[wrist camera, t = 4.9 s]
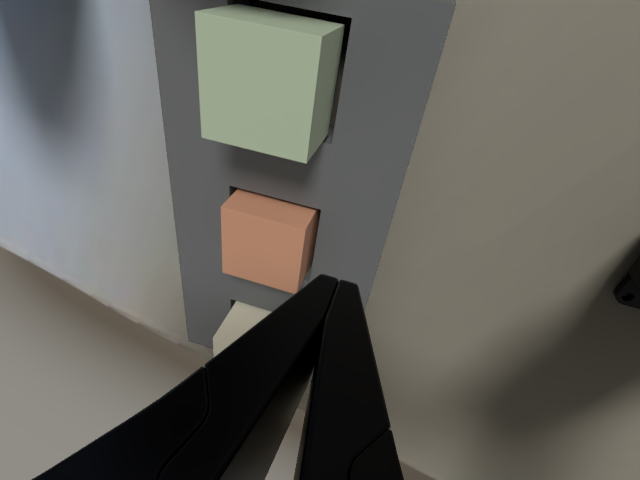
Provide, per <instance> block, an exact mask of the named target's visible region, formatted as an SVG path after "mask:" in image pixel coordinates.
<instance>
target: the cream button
mask: <svg viewBox="0 0 640 480" xmlns="http://www.w3.org/2000/svg"><path fill="white" fill-rule="evenodd" d="M270 313H271V311H268V310H265V309H261V308H258V307H255V306H252V305H248V304H245V303H242V302H239V301H236V302H235V304H234V306H233V307H232V309H231V310H230V312H229V313H228V315H227V317H226V318H225V320H224V321H223V323H222V324H221V326H220V327H219V329H218V331H217V332H216V334H215V335H214V337H213V352H214V357H215V356H216V355H217V354H219V353H220V352H221V351H222V350H224V349H225V348H226V347H228V346H229V345H230V344H231V343H233V342H234V341H235V340H237V339H238V338H239V337H240V336H242V335H243V334H244V333H245V332H247V331H248V330H249V329H251V328H252V327H253V326H254V325H256V324H257V323H258V322H260V321H261V320H262V319H263V318H265V317H266V316H267V315H268V314H270Z"/></svg>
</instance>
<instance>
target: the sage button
mask: <svg viewBox="0 0 640 480" xmlns="http://www.w3.org/2000/svg"><path fill="white" fill-rule="evenodd" d="M195 28H196V46H197V64H198V82H199V100H200V118H201V136H202V138H205V139H209V140H213V141H217V142H221V143H225V144H229V145H233V146H237V147H241V148H245V149H249V150H253V151H257V152H261V153H265V154H269V155H273V156H277V157H281V158H286V159H290V160H294V161H298V162H302V163H306V164H307V162H308V161H309V160H310V158H311V157H312V155H313V154H314V153H315V151H316V150H317V149H318V147H319V146H320V144H321V143H322V142H323V140H324V139H325V138H326V136H327V135H328V133H329V126H330V120H331V113H332V107H333V100H334V94H335V87H336V81H337V74H338V67H339V61H340V54H341V48H342V41H343V35H344V28H345V24H340V23H335V22H330V21H325V20H320V19H315V18H309V17H304V16H299V15H294V14H289V13H284V12H279V11H274V10H268V9H263V8H258V7H253V6H248V5H243V4H234V5H228V6H222V7H216V8H210V9H204V10H198V11H195Z"/></svg>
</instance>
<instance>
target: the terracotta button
mask: <svg viewBox="0 0 640 480" xmlns="http://www.w3.org/2000/svg"><path fill="white" fill-rule="evenodd" d="M320 213H321V210H320V209H316V208H312V207H308V206H305V205H301V204H297V203H293V202H290V201H286V200H282V199H278V198H275V197H271V196H267V195H263V194H259V193H256V192H252V191H248V190H244V189H241V188H238V189H237V190H236V191H235V192H234V193H233V194H232V195H231V196H230V197H229V198H228V199H227V201H226V202H225V203H224V204H223V205H222V206H221V236H222V272H223V273H226V274H229V275H233V276H236V277H239V278H243V279H246V280H250V281H253V282H256V283H260V284H263V285H266V286H270V287H273V288H276V289H280V290H283V291H286V292H290V293H293V294H295V293H297V292H298V291H299V289H300V286H301V284H302V282H303V280H304V278H305V276H306V274H307V271H308V269H309V267H310V265H311V263H312V261H313V257H314V251H315V244H316V238H317V232H318V226H319V220H320Z"/></svg>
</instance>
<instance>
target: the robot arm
mask: <svg viewBox="0 0 640 480" xmlns="http://www.w3.org/2000/svg"><path fill="white" fill-rule="evenodd" d="M627 293H630V294H629V295H626V296H623V295H624V294H627ZM613 294H614V297H615V299H616V300H617V301H618V303H621V304H623V305H627V306H631V307H634V308H638V309H640V257H639V259H638V260H637V261H636V262H635V263H634V265H633V266H632V267H631V268H630V269H629V273H628V274H627V275H626V276H625V277H624V279H623V280H622V281H621V282H620V283H619V285H618V286H617V287H616V288H615V289H614V291H613ZM312 373H313V375H312ZM311 375H312V380H311V385H310V390H309V396H308V401H307V407H306V412H305V418H304V424H303V429H302V435H301V441H300V446H299V452H298V457H297V463H296V469H295V475H294V480H404V478H403V474H402V470H401V467H400V463H399V459H398V455H397V451H396V447H395V442H394V438H393V434H392V431H391V430H389V429H390V421H389V417H388V413H387V408H386V404H385V400H384V395H383V391H382V387H381V382H380V378H379V374H378V369H377V365H376V360H375V356H374V352H373V347H372V343H371V339H370V334H369V330H368V326H367V321H366V317H365V313H364V308H363V304H362V299H361V295H360V291H359V287H358V285H357V284H356V283H353V282H349V281H346V280H340V281H339V282H338V279H337V278H335V277H332V276H328V275H325V274H320V275H318V276H317V277H316V278H314V279H313V280H312V281H311V282H309V283H308V284H307V285H305V286H304V287H303V288H302V289H300V290H299V291H298V292H297V293H295V294H294V295H293V296H291V297H290V298H289V299H288V300H286V301H285V302H284V303H282V304H281V305H280V306H279V307H277V308H276V309H275V310H274V311H272V312H271V313H270V314H268V315H267V316H266V317H265V318H263V319H262V320H261V321H260V322H258V323H257V324H256V325H254V326H253V327H252V328H251V329H249V330H248V331H247V332H245V333H244V334H243V335H242V336H240V337H239V338H238V339H237V340H235V341H234V342H233V343H231V344H230V345H229V346H228V347H226V348H225V349H224V350H222V351H221V352H220V353H219V354H217V355H216V356H215V357H214V358H212V359H211V360H210V361H208V362H207V363H206V364H205V368H204V367H200V369H198V370H197V371H195V372H194V373H193V374H192V375H190V376H189V377H188V378H186V379H185V380H184V381H183V382H181V383H180V384H179V385H177V386H176V387H175V388H173V389H172V390H170V391H169V392H168V393H166V394H165V395H164V396H162V397H161V398H160V399H158V400H156V401H155V402H153V403H152V404H150V405H149V406H147V407H146V408H145V409H143V410H141V411H140V412H138V413H137V414H135V415H134V416H132V417H131V418H129V419H128V420H126V421H125V422H123V423H121V424H120V425H118V426H117V427H115V428H114V429H112V430H110V431H109V432H107V433H106V434H104V435H102V436H101V437H99V438H98V439H96V440H95V441H93V442H91V443H90V444H88V445H87V446H85V447H83V448H82V449H80V450H79V451H77V452H76V453H74V454H72V455H71V456H69V457H68V458H66V459H64V460H63V461H61V462H60V463H58V464H57V465H55V466H53V467H52V468H50V469H49V470H47V471H45V472H44V473H42V474H40V475H39V476H37V477H35V478H33V479H32V480H265V477H266V475H267V473H268V471H269V468H270V466H271V464H272V462H273V460H274V458H275V455H276V453H277V451H278V449H279V446H280V444H281V442H282V440H283V438H284V435H285V433H286V431H287V429H288V427H289V425H290V422H291V420H292V418H293V416H294V414H295V411H296V409H297V407H298V405H299V403H300V400H301V398H302V396H303V394H304V392H305V389H306V387H307V385H308V383H309V380H310V378H311Z"/></svg>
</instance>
